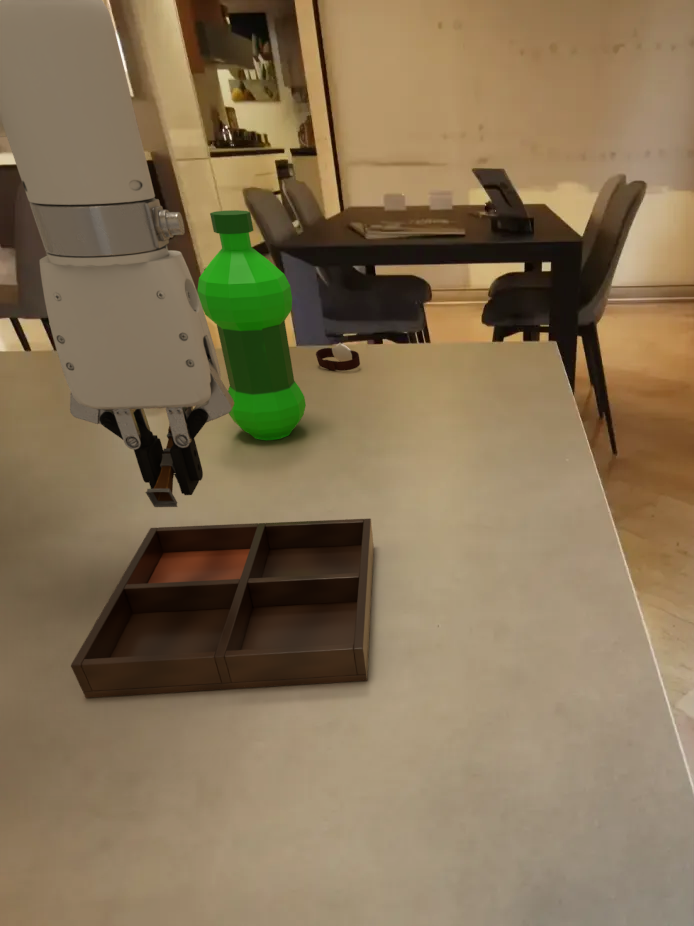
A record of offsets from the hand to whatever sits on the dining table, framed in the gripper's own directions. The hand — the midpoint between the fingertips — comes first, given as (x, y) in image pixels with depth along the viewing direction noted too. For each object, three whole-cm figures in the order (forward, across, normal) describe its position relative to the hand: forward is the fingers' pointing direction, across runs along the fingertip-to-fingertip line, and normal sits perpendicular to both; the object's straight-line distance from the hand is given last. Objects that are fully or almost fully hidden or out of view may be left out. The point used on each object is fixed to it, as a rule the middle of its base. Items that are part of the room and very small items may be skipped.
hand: (176, 487), depth 58 cm
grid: (+9, -5, +5) cm, 12 cm away
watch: (+10, -8, -66) cm, 67 cm away
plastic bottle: (+10, -1, -37) cm, 38 cm away
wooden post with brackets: (0, 0, 0) cm, 0 cm away
